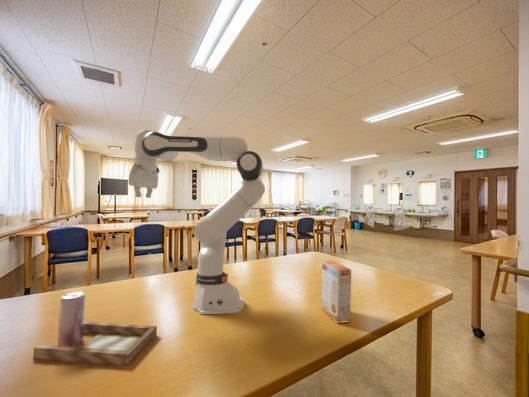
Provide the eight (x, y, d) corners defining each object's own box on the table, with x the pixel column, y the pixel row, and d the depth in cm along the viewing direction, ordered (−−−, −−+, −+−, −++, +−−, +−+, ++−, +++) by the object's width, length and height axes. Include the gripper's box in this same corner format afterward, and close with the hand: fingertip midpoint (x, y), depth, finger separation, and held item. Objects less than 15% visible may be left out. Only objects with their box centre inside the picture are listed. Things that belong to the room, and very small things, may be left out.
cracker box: (351, 323, 91) (352, 269, 92) (336, 324, 90) (338, 269, 90) (333, 307, 105) (334, 260, 105) (320, 308, 104) (322, 260, 104)
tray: (156, 335, 79) (156, 326, 79) (127, 365, 64) (128, 354, 64) (78, 330, 81) (79, 321, 81) (33, 358, 66) (33, 347, 66)
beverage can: (67, 338, 76) (70, 291, 76) (87, 338, 76) (89, 291, 76) (52, 349, 70) (55, 298, 70) (73, 349, 70) (76, 298, 70)
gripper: (140, 163, 96) (139, 197, 95) (161, 170, 116) (159, 198, 116) (125, 162, 95) (123, 196, 95) (148, 169, 116) (146, 197, 115)
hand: (143, 197), depth 105 cm, fingers open, 8 cm apart
